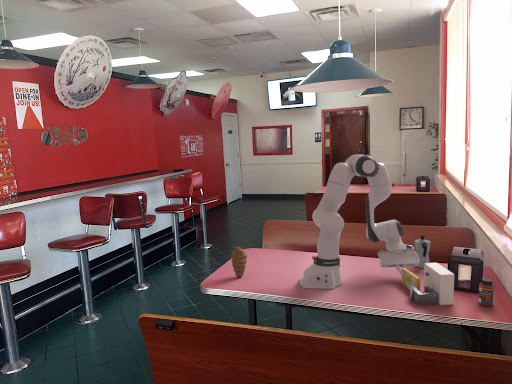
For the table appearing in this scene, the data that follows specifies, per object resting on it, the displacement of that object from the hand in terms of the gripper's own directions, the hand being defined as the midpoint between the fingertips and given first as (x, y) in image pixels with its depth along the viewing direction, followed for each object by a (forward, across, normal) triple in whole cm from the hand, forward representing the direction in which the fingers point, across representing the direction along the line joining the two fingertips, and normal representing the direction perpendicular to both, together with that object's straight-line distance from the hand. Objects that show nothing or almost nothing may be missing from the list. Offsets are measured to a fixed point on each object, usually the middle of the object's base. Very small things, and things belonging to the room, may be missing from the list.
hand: (403, 273), depth 201 cm
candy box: (+10, 0, -3) cm, 10 cm away
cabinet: (+18, +8, -12) cm, 23 cm away
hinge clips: (+19, 0, -13) cm, 23 cm away
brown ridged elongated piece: (-10, -85, +16) cm, 87 cm away
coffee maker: (-12, +20, +19) cm, 30 cm away
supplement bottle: (+24, +25, -18) cm, 39 cm away
